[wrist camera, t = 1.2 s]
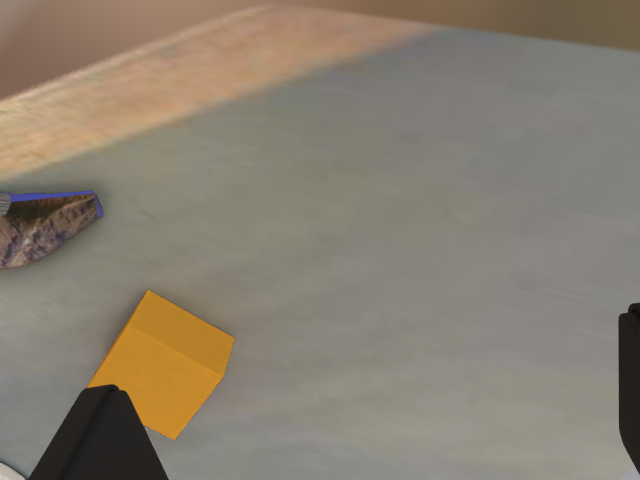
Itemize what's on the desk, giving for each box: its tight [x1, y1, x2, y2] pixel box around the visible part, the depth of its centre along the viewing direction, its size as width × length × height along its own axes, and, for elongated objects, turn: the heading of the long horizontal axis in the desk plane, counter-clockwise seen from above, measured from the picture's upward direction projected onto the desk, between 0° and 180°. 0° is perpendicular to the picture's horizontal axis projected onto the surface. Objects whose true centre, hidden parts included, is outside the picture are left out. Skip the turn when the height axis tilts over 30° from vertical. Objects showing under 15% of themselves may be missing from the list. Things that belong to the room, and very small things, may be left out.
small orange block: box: [87, 290, 235, 440], centre depth 38 cm, size 7×7×4 cm
